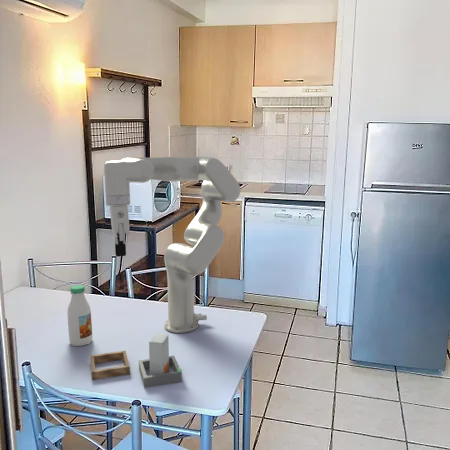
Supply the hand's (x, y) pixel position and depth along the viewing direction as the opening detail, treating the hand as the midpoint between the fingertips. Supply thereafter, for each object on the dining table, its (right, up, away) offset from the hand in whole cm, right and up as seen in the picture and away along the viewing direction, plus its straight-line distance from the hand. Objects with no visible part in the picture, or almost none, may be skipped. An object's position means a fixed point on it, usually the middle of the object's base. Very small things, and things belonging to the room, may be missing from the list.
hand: (120, 255), depth 157 cm
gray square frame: (+14, -35, -12) cm, 40 cm away
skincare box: (+14, -35, -12) cm, 40 cm away
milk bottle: (-16, -31, +10) cm, 36 cm away
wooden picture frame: (-2, -34, -8) cm, 35 cm away
